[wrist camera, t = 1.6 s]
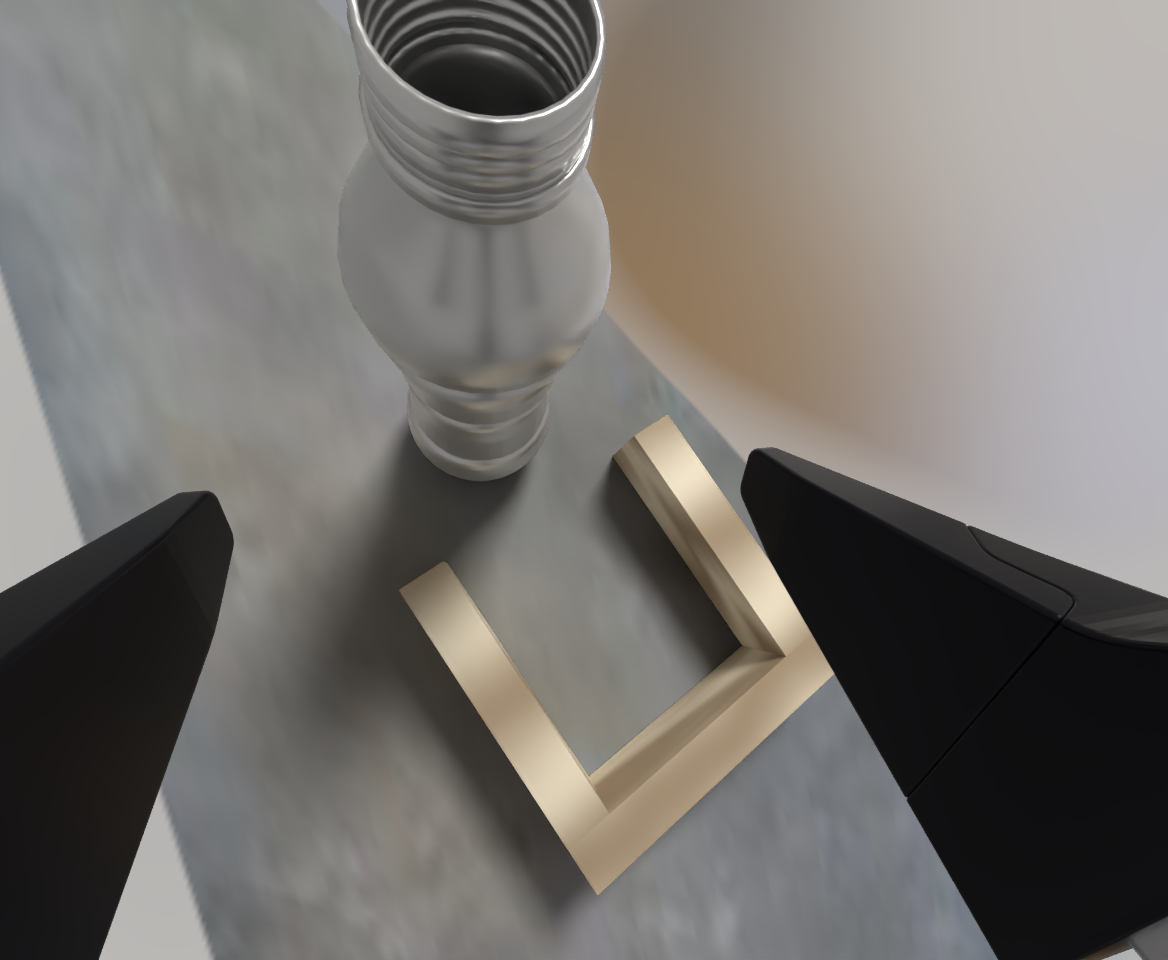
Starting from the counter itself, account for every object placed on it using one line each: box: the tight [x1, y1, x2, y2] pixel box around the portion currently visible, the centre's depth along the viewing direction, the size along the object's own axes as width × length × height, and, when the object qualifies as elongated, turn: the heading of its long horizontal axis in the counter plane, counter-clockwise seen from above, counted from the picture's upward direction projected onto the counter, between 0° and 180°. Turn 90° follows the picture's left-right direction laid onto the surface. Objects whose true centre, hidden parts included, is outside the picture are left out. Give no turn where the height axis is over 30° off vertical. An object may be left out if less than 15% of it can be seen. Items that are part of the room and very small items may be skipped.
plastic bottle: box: [338, 0, 611, 481], centre depth 17 cm, size 6×7×20 cm
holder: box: [399, 414, 834, 895], centre depth 24 cm, size 14×14×4 cm
